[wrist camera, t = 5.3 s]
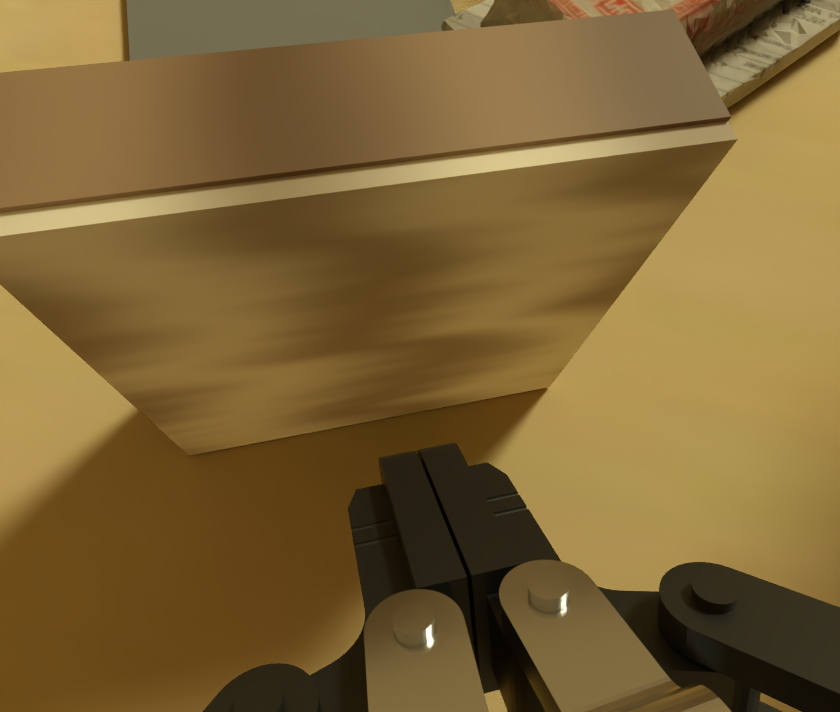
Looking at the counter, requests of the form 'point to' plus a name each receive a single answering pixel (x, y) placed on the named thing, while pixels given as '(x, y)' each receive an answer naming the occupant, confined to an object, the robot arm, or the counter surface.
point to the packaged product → (696, 30)
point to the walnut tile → (348, 214)
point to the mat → (270, 23)
